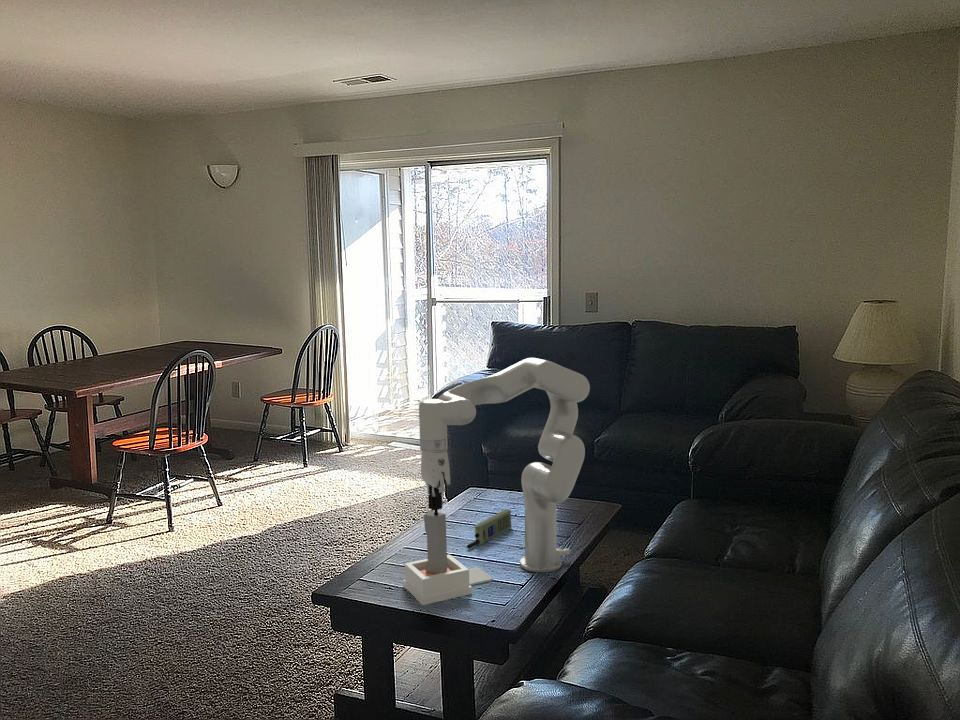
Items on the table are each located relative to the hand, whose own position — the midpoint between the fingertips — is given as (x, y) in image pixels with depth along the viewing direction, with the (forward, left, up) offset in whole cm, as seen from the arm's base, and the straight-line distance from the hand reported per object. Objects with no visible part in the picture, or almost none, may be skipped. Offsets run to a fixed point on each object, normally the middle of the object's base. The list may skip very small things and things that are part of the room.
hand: (435, 508), depth 224 cm
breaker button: (0, 0, -22) cm, 22 cm away
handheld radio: (-32, -29, -24) cm, 50 cm away
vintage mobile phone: (0, 0, -19) cm, 19 cm away
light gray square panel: (-12, -3, -24) cm, 27 cm away
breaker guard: (0, 0, -24) cm, 24 cm away
